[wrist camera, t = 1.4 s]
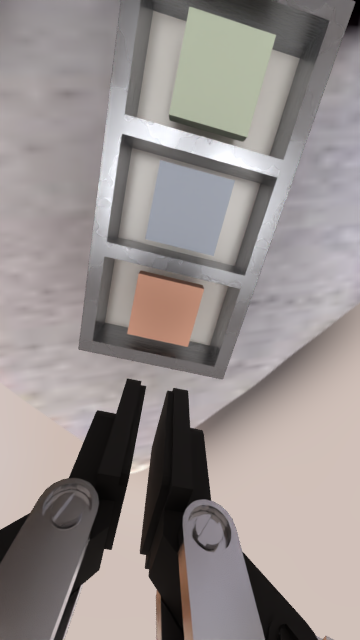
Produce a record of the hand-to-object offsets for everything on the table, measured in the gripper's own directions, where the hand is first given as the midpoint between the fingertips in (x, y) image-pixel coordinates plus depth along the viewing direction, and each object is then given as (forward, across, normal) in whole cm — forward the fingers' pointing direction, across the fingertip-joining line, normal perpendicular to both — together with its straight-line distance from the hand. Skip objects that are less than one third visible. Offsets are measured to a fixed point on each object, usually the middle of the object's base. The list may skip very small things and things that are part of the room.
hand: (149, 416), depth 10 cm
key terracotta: (+14, 0, 0) cm, 14 cm away
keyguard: (+15, 0, -8) cm, 17 cm away
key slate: (+14, 0, -8) cm, 16 cm away
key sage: (+14, 0, -15) cm, 21 cm away
